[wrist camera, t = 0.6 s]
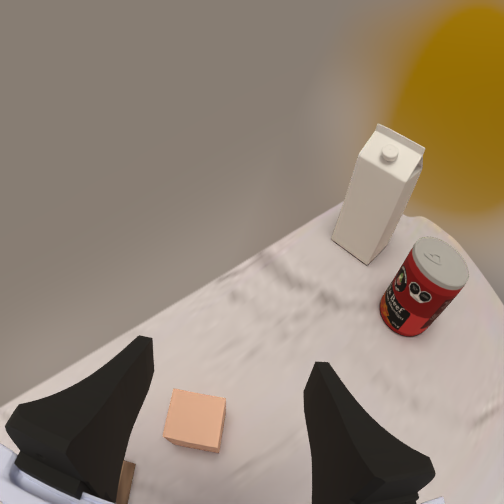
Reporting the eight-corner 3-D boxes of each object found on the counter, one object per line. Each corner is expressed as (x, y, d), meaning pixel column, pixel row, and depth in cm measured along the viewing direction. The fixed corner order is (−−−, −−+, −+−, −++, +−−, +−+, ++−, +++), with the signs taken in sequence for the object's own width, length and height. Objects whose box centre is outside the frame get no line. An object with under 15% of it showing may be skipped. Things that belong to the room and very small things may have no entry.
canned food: (375, 288, 39) (408, 230, 31) (422, 295, 39) (459, 243, 31) (380, 335, 34) (422, 280, 26) (430, 340, 34) (476, 290, 26)
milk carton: (353, 222, 49) (387, 120, 35) (387, 245, 46) (432, 144, 32) (330, 239, 45) (365, 126, 32) (366, 266, 42) (417, 153, 28)
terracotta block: (219, 453, 24) (217, 447, 20) (173, 443, 24) (162, 436, 20) (225, 412, 27) (225, 398, 23) (181, 404, 27) (173, 388, 23)
